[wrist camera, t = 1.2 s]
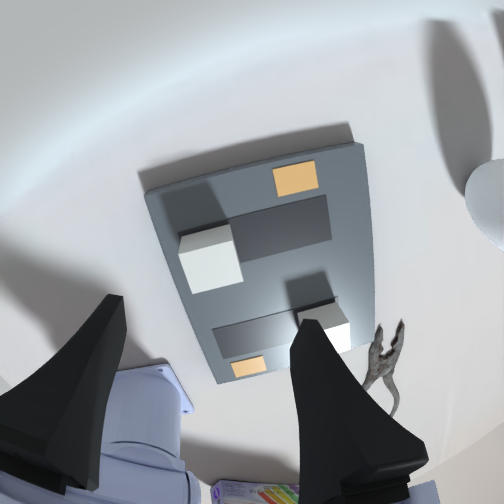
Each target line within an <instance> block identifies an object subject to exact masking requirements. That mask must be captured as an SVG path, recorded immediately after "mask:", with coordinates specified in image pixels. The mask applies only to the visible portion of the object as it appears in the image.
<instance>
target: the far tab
mask: <svg viewBox="0 0 504 504" xmlns="http://www.w3.org/2000/svg"><path fill="white" fill-rule="evenodd" d="M297 314H298V320H299V325H301V323H302V320H303V319H316V320H318V321H319V323H320V325H321V326H322V328H323V330H324V331H325V333H326V335H327V336H328V338H329V340H330V341H331V343H332V344H333V346H334V348H335V349H336V351H337V352H338V353H341V352H344V351H347V350H350V325H349V321H348V319H347V318H346V316H345V314H344V313H343V311H342V310H341V308H340V306H339V305H338V303H337V302H334V303H331V304H327V305H324V306H320V307H317V308H313V309H310V310H306V311H303V312H299V313H297Z"/></svg>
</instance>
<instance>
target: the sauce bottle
mask: <svg viewBox="0 0 504 504" xmlns="http://www.w3.org/2000/svg"><path fill="white" fill-rule="evenodd" d="M465 202H466V206H467V209H468V211H469V213H470V215H471V217H472V219H473V221H474V223H475V224H476V226H477V227H478V228H479V230H480V231H481V232H482V233H483V235H484V236H485V237H486V238H487V239H489V240H490V241H491V242H492V243H493V244H495V245H496V246H497V247H498V248H500V249H501V250H503V251H504V159H497V160H492V161H489V162H486V163H484V164H482V165H480V166H478V167H477V168H476V169H475V170H474V171H473V172H472V174H471V175H470V177H469V179H468V181H467V183H466V187H465Z"/></svg>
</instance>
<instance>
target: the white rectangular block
mask: <svg viewBox="0 0 504 504" xmlns="http://www.w3.org/2000/svg"><path fill="white" fill-rule="evenodd" d="M178 255H179V258H180V261H181V264H182V267H183V270H184V272H185V275H186V278H187V281H188V284H189V286H190V289H191V292H192V294H195V293H199V292H203V291H207V290H211V289H215V288H219V287H223V286H227V285H231V284H235V283H239V282H243V276H242V271H241V266H240V261H239V257H238V254H237V250H236V246H235V243H234V239H233V235H232V231H231V228H230V224H228V225H224V226H220V227H216V228H212V229H208V230H205V231H201V232H197V233H193V234H189V235H186V236H182V237H181V242H180V248H179V253H178Z"/></svg>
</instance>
